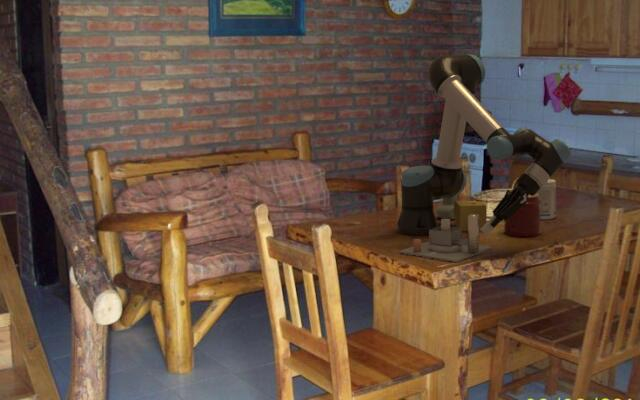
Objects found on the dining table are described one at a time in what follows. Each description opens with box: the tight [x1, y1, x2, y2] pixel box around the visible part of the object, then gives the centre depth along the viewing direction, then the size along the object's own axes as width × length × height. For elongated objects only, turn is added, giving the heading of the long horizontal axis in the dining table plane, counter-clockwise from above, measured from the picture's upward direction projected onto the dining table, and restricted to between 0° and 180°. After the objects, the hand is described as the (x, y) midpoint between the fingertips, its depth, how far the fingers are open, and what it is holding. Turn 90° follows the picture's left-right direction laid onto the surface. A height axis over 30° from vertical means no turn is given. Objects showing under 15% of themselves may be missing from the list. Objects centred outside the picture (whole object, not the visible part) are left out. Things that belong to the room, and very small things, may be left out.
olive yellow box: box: [454, 199, 487, 233], centre depth 326 cm, size 10×11×10 cm
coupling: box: [428, 214, 480, 253], centre depth 290 cm, size 16×8×12 cm, turn 55°
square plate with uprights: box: [398, 218, 492, 263], centre depth 293 cm, size 22×22×11 cm
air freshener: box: [435, 194, 459, 221], centre depth 345 cm, size 11×8×10 cm
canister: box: [503, 193, 542, 237], centre depth 316 cm, size 13×13×18 cm
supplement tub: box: [537, 178, 557, 220], centre depth 342 cm, size 10×10×15 cm
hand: (483, 232), depth 290 cm, fingers closed
